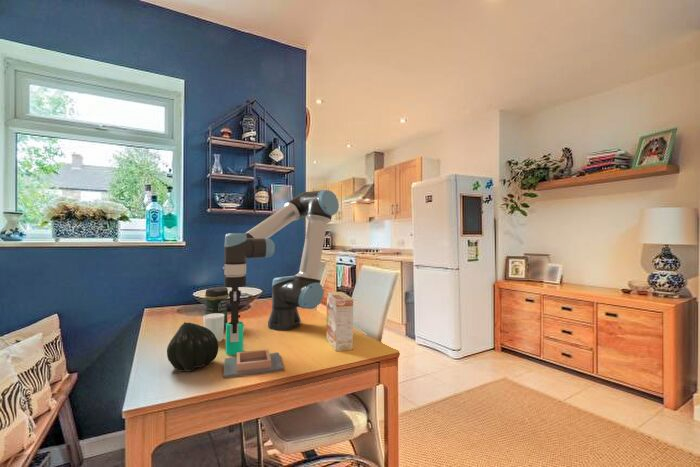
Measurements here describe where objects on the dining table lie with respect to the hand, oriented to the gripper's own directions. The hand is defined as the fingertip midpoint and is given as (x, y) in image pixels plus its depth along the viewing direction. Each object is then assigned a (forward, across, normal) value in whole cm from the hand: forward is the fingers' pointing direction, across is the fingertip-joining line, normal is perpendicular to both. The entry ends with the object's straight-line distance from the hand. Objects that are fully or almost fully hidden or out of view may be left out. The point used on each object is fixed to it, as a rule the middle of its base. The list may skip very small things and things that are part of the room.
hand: (234, 338), depth 120 cm
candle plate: (+5, +14, +6) cm, 16 cm away
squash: (+5, +9, -13) cm, 17 cm away
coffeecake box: (+5, +3, +39) cm, 39 cm away
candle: (+5, 0, 0) cm, 5 cm away
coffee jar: (+5, -34, -8) cm, 35 cm away
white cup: (+5, -16, -8) cm, 19 cm away
